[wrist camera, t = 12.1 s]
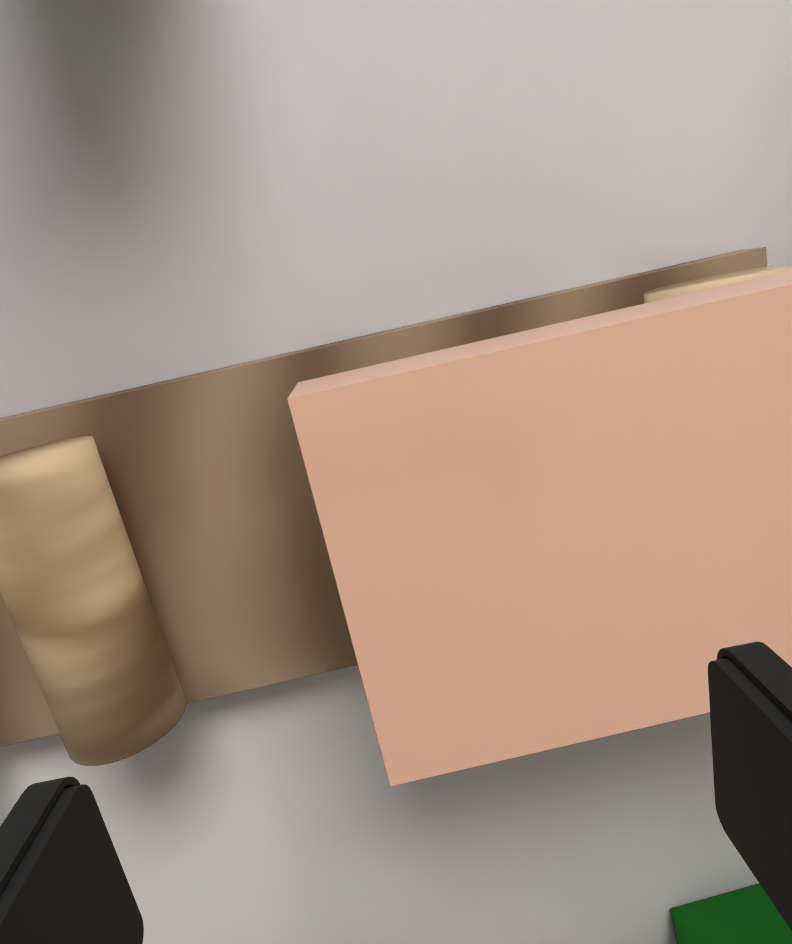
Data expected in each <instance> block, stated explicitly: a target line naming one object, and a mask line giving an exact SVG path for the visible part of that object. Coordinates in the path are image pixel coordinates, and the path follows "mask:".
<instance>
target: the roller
mask: <svg viewBox="0 0 792 944" xmlns="http://www.w3.org/2000/svg"><path fill="white" fill-rule="evenodd" d="M0 593H1V595H2V598H3V600H4V603H5V605H6V607H7V610H8V612H9V614H10V617H11V619H12V621H13V624H14V626H15V629H16V631H17V633H18V636H19V638H20V640H21V643H22V645H23V648H24V650H25V652H26V655H27V657H28V659H29V662H30V664H31V667H32V669H33V671H34V674H35V676H36V678H37V681H38V683H39V686H40V688H41V690H42V693H43V695H44V697H45V700H46V702H47V704H48V707H49V709H50V712H51V714H52V716H53V719H54V721H55V723H56V726H57V728H58V731H59V733H60V735H61V738H62V740H63V742H64V745H65V747H66V750H67V752H68V754H69V757H70V758H71V760H72V761H74V762H75V763H77V764H80V765H85V766H97V765H104V764H109V763H113V762H116V761H119V760H122V759H125V758H127V757H130V756H132V755H134V754H136V753H138V752H140V751H142V750H144V749H146V748H147V747H149V746H151V745H152V744H154V743H155V742H157V741H158V740H159V739H161V738H162V737H163V736H165V735H166V734H167V733H168V732H169V731H170V730H171V729H172V728H173V727H174V726H175V725H176V724H177V723H178V721H179V720H180V718H181V717H182V715H183V713H184V711H185V708H186V699H185V696H184V694H183V691H182V688H181V685H180V682H179V679H178V677H177V674H176V671H175V668H174V665H173V662H172V660H171V657H170V654H169V651H168V648H167V645H166V643H165V640H164V637H163V634H162V631H161V628H160V626H159V623H158V620H157V617H156V614H155V611H154V609H153V606H152V603H151V600H150V597H149V594H148V592H147V589H146V586H145V583H144V580H143V577H142V575H141V572H140V569H139V566H138V563H137V560H136V558H135V555H134V552H133V549H132V546H131V543H130V541H129V538H128V535H127V532H126V529H125V526H124V524H123V521H122V518H121V515H120V512H119V509H118V507H117V504H116V501H115V498H114V495H113V492H112V490H111V487H110V484H109V481H108V478H107V475H106V473H105V470H104V467H103V464H102V461H101V458H100V456H99V453H98V450H97V447H96V444H95V441H94V439H93V437H92V436H82V437H75V438H69V439H64V440H59V441H55V442H50V443H46V444H42V445H38V446H34V447H30V448H26V449H23V450H19V451H16V452H12V453H9V454H5V455H2V456H0Z"/></svg>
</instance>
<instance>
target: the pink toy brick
mask: <svg viewBox="0 0 792 944" xmlns="http://www.w3.org/2000/svg"><path fill="white" fill-rule="evenodd" d="M644 303H645V304H640V305H636V306H632V307H627V308H623V309H618V310H614V311H610V312H605V313H601V314H596V315H592V316H588V317H583V318H579V319H574V320H570V321H566V322H561V323H557V324H552V325H548V326H544V327H539V328H535V329H530V330H526V331H522V332H517V333H513V334H508V335H504V336H500V337H495V338H491V339H487V340H482V341H478V342H473V343H469V344H465V345H460V346H456V347H451V348H447V349H443V350H438V351H434V352H429V353H425V354H421V355H416V356H412V357H407V358H403V359H399V360H394V361H390V362H385V363H381V364H377V365H372V366H368V367H363V368H359V369H355V370H350V371H346V372H341V373H337V374H333V375H328V376H324V377H319V378H315V379H311V380H306V381H302V382H298V383H297V385H296V386H295V388H294V389H293V391H292V392H291V394H290V395H289V397H288V398H287V399H288V403H289V407H290V411H291V414H292V418H293V422H294V426H295V429H296V433H297V437H298V441H299V444H300V448H301V452H302V456H303V459H304V463H305V467H306V471H307V475H308V478H309V482H310V486H311V490H312V493H313V497H314V501H315V505H316V508H317V512H318V516H319V520H320V523H321V527H322V531H323V535H324V538H325V542H326V546H327V550H328V553H329V557H330V561H331V565H332V568H333V572H334V576H335V580H336V583H337V587H338V591H339V595H340V598H341V602H342V606H343V610H344V613H345V617H346V621H347V625H348V629H349V632H350V636H351V640H352V644H353V647H354V651H355V655H356V659H357V662H358V666H359V670H360V674H361V677H362V681H363V685H364V689H365V692H366V696H367V700H368V704H369V707H370V711H371V715H372V719H373V722H374V726H375V730H376V734H377V737H378V741H379V745H380V749H381V752H382V756H383V760H384V764H385V768H386V771H387V775H388V779H389V783H390V786H394V785H398V784H403V783H407V782H411V781H416V780H420V779H424V778H429V777H433V776H437V775H441V774H446V773H450V772H454V771H459V770H463V769H467V768H472V767H476V766H480V765H485V764H489V763H493V762H498V761H502V760H506V759H511V758H515V757H519V756H524V755H528V754H532V753H536V752H541V751H545V750H549V749H554V748H558V747H562V746H567V745H571V744H575V743H580V742H584V741H588V740H593V739H597V738H601V737H606V736H610V735H614V734H619V733H623V732H627V731H631V730H636V729H640V728H644V727H649V726H653V725H657V724H662V723H666V722H670V721H675V720H679V719H683V718H688V717H692V716H696V715H701V714H705V713H709V712H710V702H709V685H708V664H709V662H711V661H714V660H717V654H718V651H719V650H720V649H722V648H726V647H731V646H737V645H742V644H747V643H752V642H757V641H758V642H762V643H764V644H765V645H767V646H768V647H769V648H770V649H772V650H773V651H774V652H775V653H776V654H777V655H778V656H780V657H781V658H782V659H783V660H784V661H785V662H786V663H787V664H789V665H790V666H791V667H792V264H789V265H776V266H767V267H760V268H753V269H746V270H740V271H734V272H729V273H723V274H718V275H712V276H707V277H702V278H697V279H693V280H688V281H684V282H679V283H675V284H671V285H667V286H663V287H659V288H656V289H653V290H650V291H647V292H645V293H644Z"/></svg>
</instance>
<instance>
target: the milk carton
mask: <svg viewBox="0 0 792 944" xmlns="http://www.w3.org/2000/svg"><path fill="white" fill-rule="evenodd" d="M670 911H671V916H672V920H673V925H674V930H675V935H676V939H677V944H792V931H791V929H790V928H789V926H788V925H787V923H786V922H785V920H784V919H783V917H782V916H781V914H780V913H779V912H778V910H777V909H776V907H775V906H774V904H773V903H772V901H771V900H770V898H769V897H768V895H767V894H766V892H765V891H764V889H763V888H762V886H761V885H760V884H757V885H753V886H750V887H746V888H743V889H739V890H736V891H732V892H729V893H725V894H722V895H718V896H714V897H711V898H707V899H704V900H700V901H697V902H693V903H690V904H686V905H683V906H679V907H676V908H671V909H670Z"/></svg>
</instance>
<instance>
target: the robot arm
mask: <svg viewBox="0 0 792 944" xmlns="http://www.w3.org/2000/svg"><path fill="white" fill-rule="evenodd" d="M708 685H709V702H710V719H711V736H712V753H713V770H714V787H715V804H716V810H717V814H718V817H719V819H720V822H721V824H722V827H723V829H724V830H725V832H726V834H727V835H728V837H729V838H730V840H731V841H732V843H733V844H734V846H735V847H736V849H737V850H738V852H739V853H740V855H741V856H742V858H743V859H744V861H745V862H746V864H747V865H748V867H749V868H750V870H751V871H752V873H753V874H754V876H755V877H756V879H757V880H758V882H759V883H760V885H761V886H762V888H763V889H764V891H765V892H766V894H767V895H768V897H769V898H770V900H771V901H772V903H773V904H774V906H775V907H776V909H777V910H778V912H779V913H780V914H781V916H782V917H783V919H784V920H785V922H786V923H787V925H788V926H789V928H790V929H791V931H792V667H791V666H790V665H789V664H787V663H786V662H785V661H784V660H783V659H782V658H781V657H780V656H778V655H777V654H776V653H775V652H774V651H773V650H772V649H770V648H769V647H768V646H767V645H765V644H764V643H762V642H758V641H757V642H752V643H747V644H742V645H737V646H731V647H726V648H722V649H720V650H719V651H718V654H717V660H714V661H711V662H709V664H708ZM143 930H144V928H143V920H142V917H141V914H140V911H139V909H138V906H137V904H136V901H135V899H134V896H133V894H132V891H131V889H130V886H129V884H128V881H127V879H126V876H125V874H124V871H123V868H122V866H121V863H120V861H119V858H118V856H117V853H116V851H115V848H114V846H113V843H112V841H111V838H110V836H109V833H108V831H107V828H106V826H105V823H104V821H103V818H102V816H101V813H100V811H99V808H98V805H97V803H96V800H95V798H94V795H93V793H92V791H91V789H90V787H88V786H87V785H80V783H79V782H78V780H77V779H75V778H74V777H65V778H60V779H55V780H50V781H45V782H40V783H35V784H32V785H30V786H28V787H27V789H26V790H25V791H24V792H23V793H22V795H21V796H20V798H19V799H18V801H17V802H16V804H15V805H14V807H13V808H12V810H11V811H10V813H9V814H8V816H7V817H6V819H5V820H4V822H3V823H2V825H1V826H0V944H142V943H143Z"/></svg>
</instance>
